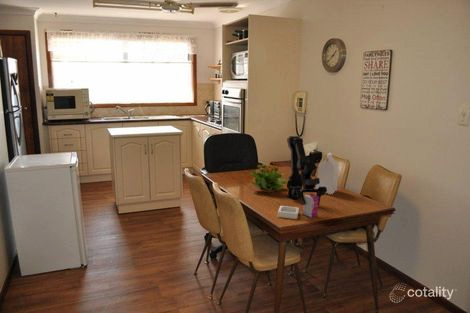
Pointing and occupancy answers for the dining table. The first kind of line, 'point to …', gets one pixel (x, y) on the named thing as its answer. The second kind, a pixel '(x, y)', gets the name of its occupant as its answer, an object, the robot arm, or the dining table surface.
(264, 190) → the potted flower
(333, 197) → the dining table surface
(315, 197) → the supplement box
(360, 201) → the dining table surface
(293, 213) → the collar
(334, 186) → the milk
